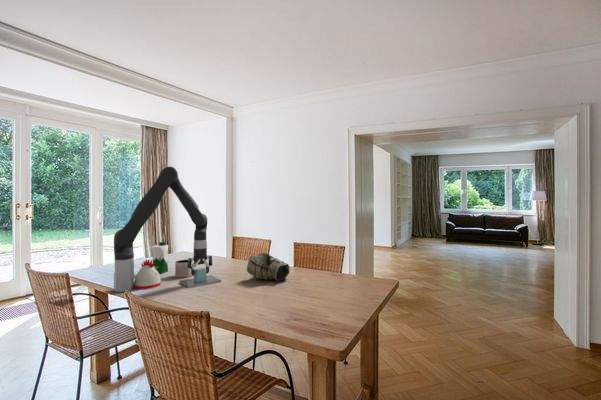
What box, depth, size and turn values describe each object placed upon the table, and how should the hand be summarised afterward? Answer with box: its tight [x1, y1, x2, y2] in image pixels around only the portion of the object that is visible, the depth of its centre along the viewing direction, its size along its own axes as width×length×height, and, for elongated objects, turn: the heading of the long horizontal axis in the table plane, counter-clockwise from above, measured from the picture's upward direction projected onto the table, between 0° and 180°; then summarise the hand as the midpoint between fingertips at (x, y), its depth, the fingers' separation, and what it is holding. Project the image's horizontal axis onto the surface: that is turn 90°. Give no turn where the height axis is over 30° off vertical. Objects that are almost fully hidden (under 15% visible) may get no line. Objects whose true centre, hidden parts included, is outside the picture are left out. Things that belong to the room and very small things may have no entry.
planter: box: [174, 259, 194, 279], centre depth 202 cm, size 11×11×10 cm
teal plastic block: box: [193, 267, 208, 282], centre depth 188 cm, size 6×6×7 cm
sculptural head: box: [246, 251, 290, 282], centre depth 197 cm, size 17×21×25 cm
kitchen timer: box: [134, 259, 162, 290], centre depth 181 cm, size 14×14×15 cm
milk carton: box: [151, 241, 169, 275], centre depth 212 cm, size 9×9×20 cm
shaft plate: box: [178, 274, 222, 289], centre depth 188 cm, size 20×14×6 cm
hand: (200, 274), depth 188 cm, fingers open, 8 cm apart
